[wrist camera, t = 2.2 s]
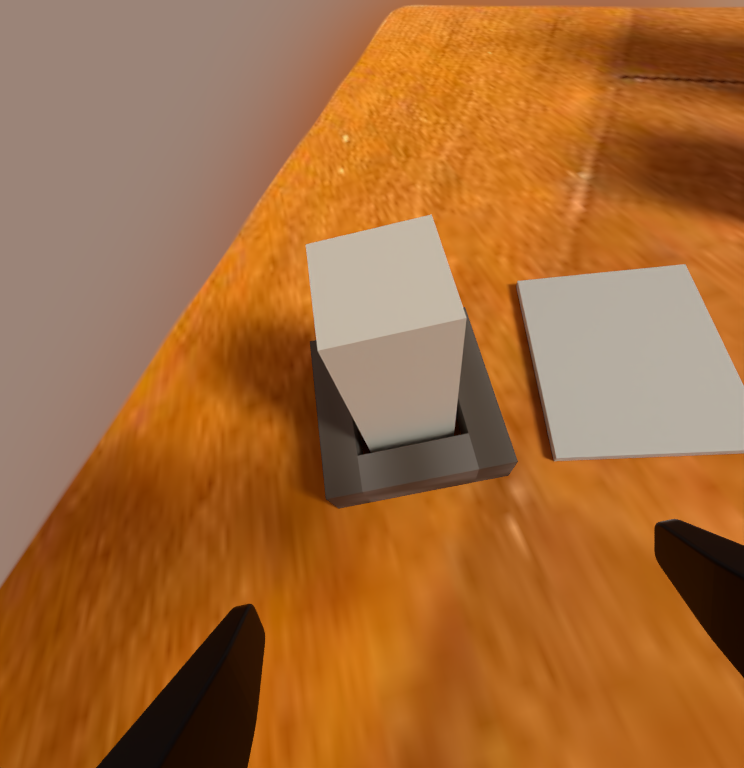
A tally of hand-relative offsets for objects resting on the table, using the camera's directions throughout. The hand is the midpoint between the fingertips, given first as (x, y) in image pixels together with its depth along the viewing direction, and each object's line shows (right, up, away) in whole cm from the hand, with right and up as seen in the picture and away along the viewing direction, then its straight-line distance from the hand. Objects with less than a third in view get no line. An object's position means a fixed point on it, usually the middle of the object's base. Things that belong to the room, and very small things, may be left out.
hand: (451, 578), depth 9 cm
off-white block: (0, +2, +17) cm, 17 cm away
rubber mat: (+14, +6, +16) cm, 23 cm away
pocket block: (0, +2, +17) cm, 17 cm away
